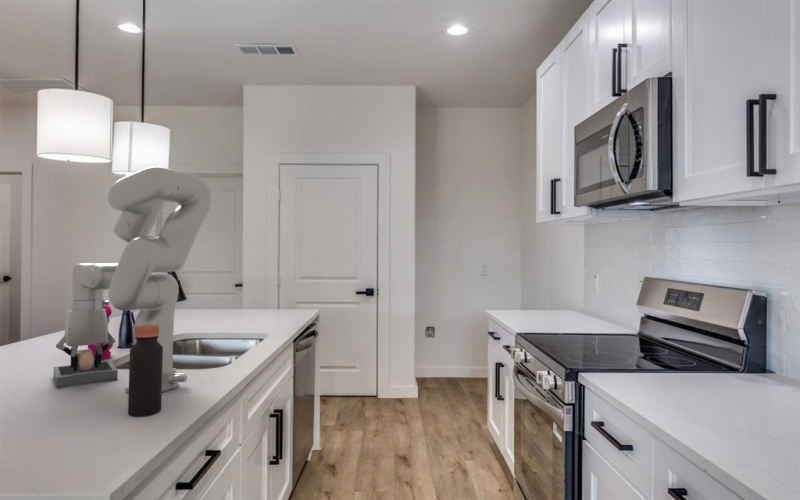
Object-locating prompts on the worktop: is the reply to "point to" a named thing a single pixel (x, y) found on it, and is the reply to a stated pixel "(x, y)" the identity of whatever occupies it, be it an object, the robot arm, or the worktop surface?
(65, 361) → the worktop surface
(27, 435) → the worktop surface
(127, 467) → the worktop surface
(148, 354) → the bottle
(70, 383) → the dish
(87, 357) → the egg
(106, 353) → the pepper mill
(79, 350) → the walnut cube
